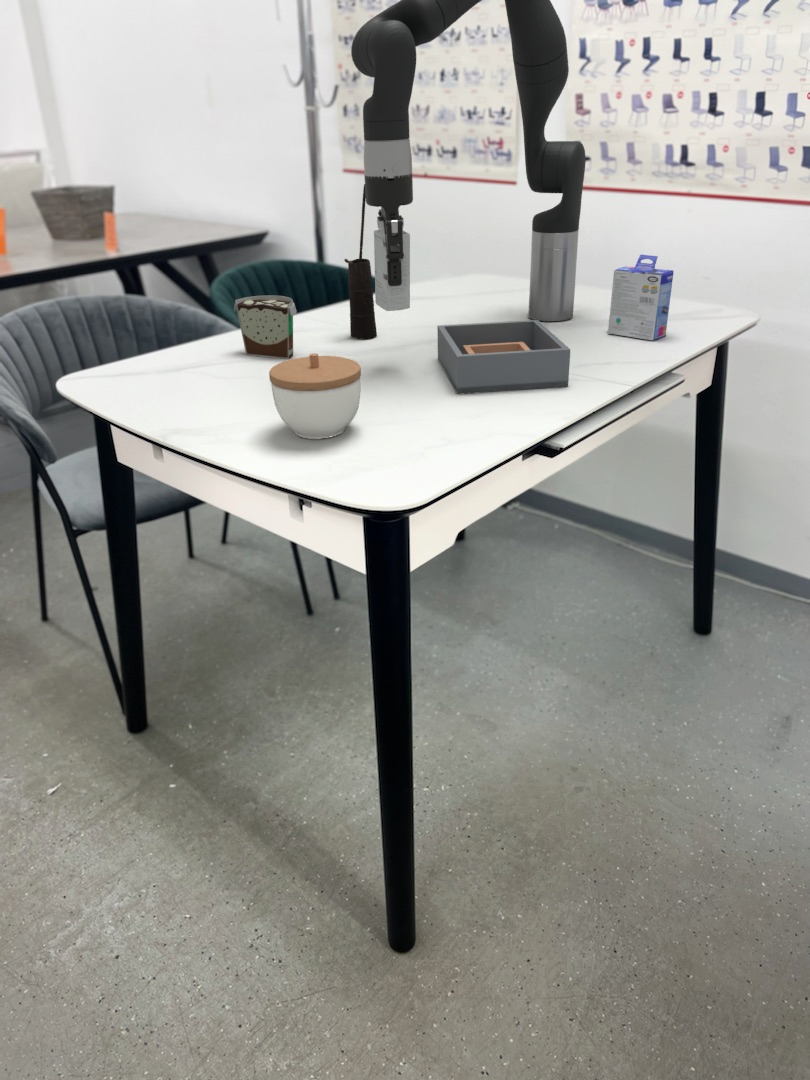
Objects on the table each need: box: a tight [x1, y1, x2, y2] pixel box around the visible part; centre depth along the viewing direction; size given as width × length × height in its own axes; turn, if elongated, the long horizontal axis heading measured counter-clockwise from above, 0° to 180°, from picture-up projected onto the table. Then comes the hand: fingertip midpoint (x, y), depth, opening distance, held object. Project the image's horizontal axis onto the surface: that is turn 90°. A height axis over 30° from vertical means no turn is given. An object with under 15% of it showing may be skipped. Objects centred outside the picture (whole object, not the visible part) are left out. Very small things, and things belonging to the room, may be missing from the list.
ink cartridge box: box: [607, 254, 674, 341], centre depth 155 cm, size 10×6×14 cm, turn 49°
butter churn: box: [343, 183, 378, 340], centre depth 157 cm, size 9×10×28 cm
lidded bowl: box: [268, 352, 362, 440], centre depth 116 cm, size 13×13×11 cm
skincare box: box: [373, 229, 411, 312], centre depth 136 cm, size 6×4×12 cm
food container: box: [233, 295, 298, 360], centre depth 153 cm, size 12×6×10 cm, turn 65°
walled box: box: [436, 319, 571, 395], centre depth 139 cm, size 20×18×6 cm
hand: (392, 280), depth 137 cm, fingers closed on skincare box, 6 cm apart
